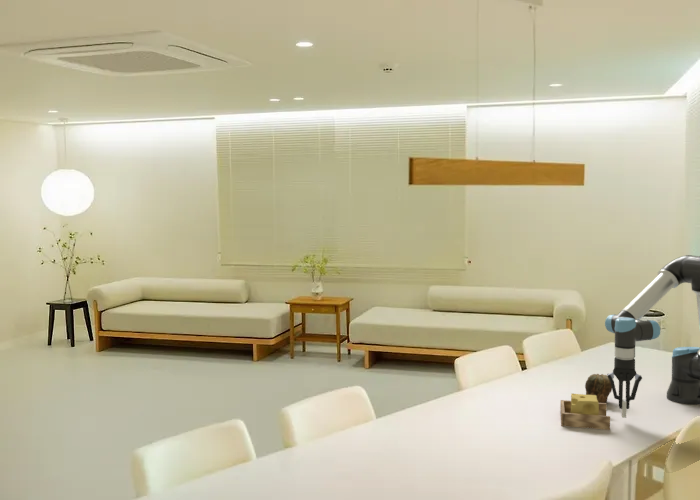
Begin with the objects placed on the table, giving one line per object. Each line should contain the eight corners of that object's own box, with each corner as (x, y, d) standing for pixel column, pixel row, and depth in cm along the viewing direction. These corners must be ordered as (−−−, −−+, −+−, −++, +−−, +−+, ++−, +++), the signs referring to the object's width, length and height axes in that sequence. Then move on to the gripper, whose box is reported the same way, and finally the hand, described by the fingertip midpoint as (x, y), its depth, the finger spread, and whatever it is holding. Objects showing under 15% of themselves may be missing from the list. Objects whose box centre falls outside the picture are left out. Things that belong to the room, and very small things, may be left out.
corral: (606, 415, 285) (606, 403, 285) (609, 429, 268) (610, 417, 267) (560, 411, 290) (560, 399, 290) (561, 425, 273) (561, 413, 272)
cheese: (570, 424, 274) (570, 399, 274) (570, 416, 285) (570, 392, 284) (598, 427, 271) (598, 401, 270) (597, 418, 281) (597, 394, 281)
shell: (607, 406, 297) (608, 378, 296) (581, 402, 304) (582, 374, 303) (615, 400, 306) (615, 373, 305) (589, 396, 312) (590, 369, 312)
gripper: (641, 356, 275) (640, 414, 277) (606, 354, 279) (605, 412, 281) (644, 360, 268) (642, 420, 270) (607, 359, 272) (607, 418, 274)
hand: (623, 416), depth 276 cm, fingers closed
